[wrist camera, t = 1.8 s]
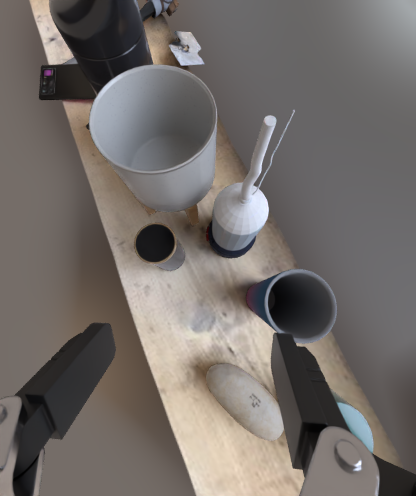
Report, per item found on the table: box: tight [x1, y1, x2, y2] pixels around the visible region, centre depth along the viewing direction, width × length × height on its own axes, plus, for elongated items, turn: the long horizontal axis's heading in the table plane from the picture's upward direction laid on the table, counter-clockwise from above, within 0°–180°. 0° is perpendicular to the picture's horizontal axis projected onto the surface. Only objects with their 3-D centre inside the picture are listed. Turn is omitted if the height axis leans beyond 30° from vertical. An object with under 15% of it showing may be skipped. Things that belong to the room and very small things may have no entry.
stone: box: [206, 364, 284, 441], centre depth 28 cm, size 6×6×12 cm
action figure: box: [140, 0, 179, 22], centre depth 44 cm, size 9×7×15 cm
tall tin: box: [134, 223, 185, 271], centre depth 30 cm, size 5×5×10 cm
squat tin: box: [330, 389, 373, 453], centre depth 28 cm, size 8×8×5 cm
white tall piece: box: [206, 110, 295, 258], centre depth 24 cm, size 8×8×25 cm
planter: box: [89, 65, 217, 226], centre depth 29 cm, size 13×13×18 cm
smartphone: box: [39, 64, 97, 100], centre depth 42 cm, size 7×15×1 cm, turn 85°
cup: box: [246, 269, 337, 343], centre depth 26 cm, size 7×7×15 cm
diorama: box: [169, 31, 204, 66], centre depth 44 cm, size 8×12×2 cm
